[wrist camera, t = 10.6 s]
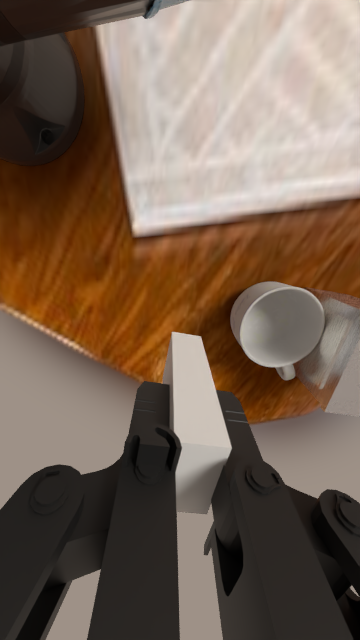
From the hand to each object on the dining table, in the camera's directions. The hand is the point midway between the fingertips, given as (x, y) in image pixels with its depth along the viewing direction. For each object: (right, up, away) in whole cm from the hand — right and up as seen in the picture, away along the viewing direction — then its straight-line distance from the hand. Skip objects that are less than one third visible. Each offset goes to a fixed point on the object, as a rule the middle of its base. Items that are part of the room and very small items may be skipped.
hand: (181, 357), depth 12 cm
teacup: (+13, +2, +25) cm, 28 cm away
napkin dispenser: (+21, +1, +25) cm, 33 cm away
